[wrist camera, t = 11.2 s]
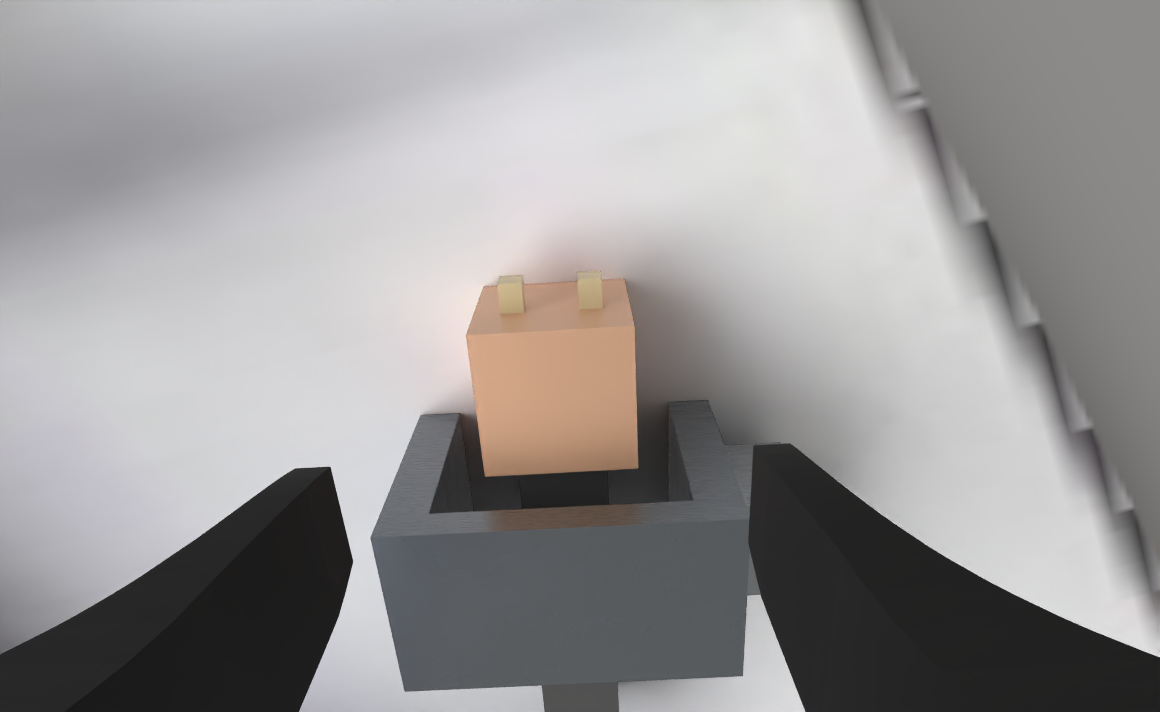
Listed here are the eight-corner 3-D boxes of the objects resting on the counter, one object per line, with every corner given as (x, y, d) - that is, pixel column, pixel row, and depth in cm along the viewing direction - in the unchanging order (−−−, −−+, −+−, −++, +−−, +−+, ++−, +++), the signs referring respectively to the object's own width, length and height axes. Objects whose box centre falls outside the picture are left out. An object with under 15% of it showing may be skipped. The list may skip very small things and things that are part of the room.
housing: (764, 529, 23) (819, 672, 18) (442, 545, 24) (404, 691, 18) (773, 396, 21) (838, 514, 16) (420, 415, 22) (370, 537, 16)
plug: (637, 683, 26) (646, 774, 23) (531, 688, 27) (525, 780, 23) (623, 250, 20) (633, 293, 16) (480, 258, 20) (461, 303, 16)
